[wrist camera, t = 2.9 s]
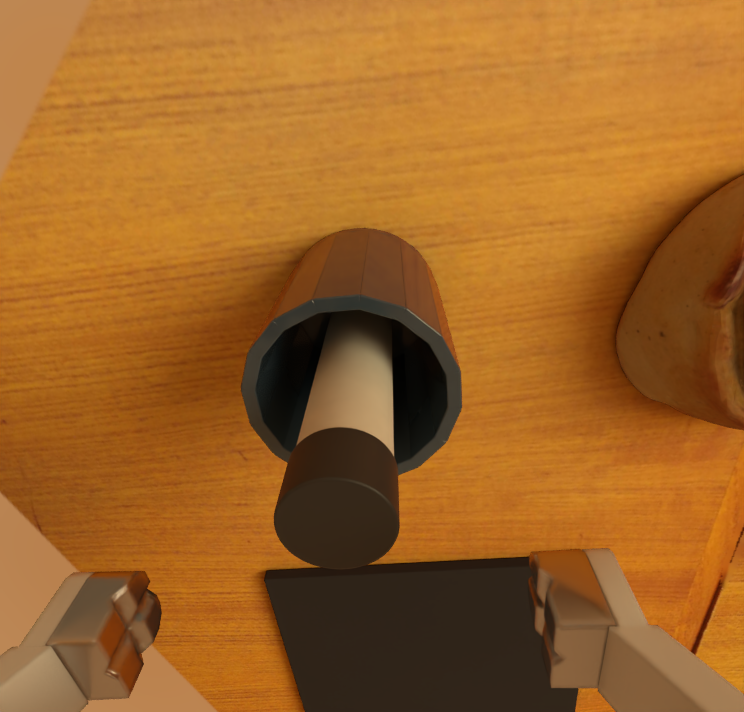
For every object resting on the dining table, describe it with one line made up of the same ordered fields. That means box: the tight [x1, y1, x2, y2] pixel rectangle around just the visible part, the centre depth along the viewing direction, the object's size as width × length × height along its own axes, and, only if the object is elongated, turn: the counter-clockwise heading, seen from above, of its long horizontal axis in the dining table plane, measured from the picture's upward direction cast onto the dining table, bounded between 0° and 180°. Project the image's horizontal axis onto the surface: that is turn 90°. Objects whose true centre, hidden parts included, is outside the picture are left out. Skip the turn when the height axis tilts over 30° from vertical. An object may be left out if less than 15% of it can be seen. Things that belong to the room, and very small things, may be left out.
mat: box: [264, 557, 578, 712], centre depth 37 cm, size 22×18×1 cm
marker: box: [274, 310, 399, 569], centre depth 18 cm, size 3×3×14 cm
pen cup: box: [241, 228, 462, 475], centre depth 21 cm, size 7×7×9 cm
